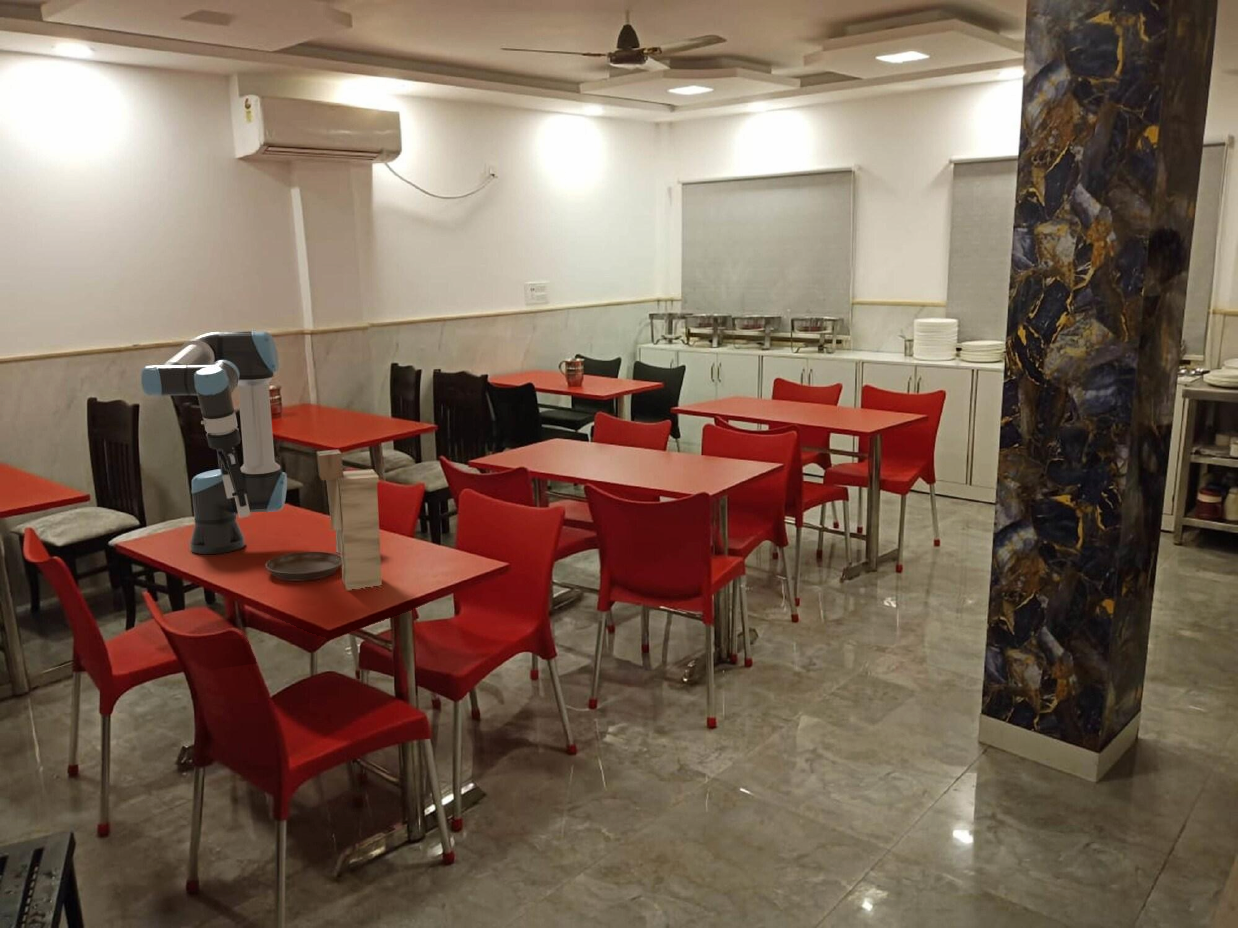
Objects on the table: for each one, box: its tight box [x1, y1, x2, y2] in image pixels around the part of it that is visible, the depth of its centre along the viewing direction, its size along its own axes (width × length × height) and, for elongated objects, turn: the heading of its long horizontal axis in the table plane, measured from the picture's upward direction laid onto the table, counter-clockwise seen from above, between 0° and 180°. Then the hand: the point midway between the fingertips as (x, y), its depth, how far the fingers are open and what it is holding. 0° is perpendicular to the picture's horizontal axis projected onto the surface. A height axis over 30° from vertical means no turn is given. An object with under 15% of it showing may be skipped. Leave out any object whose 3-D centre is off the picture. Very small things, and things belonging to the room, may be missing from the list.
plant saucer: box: [265, 551, 342, 582], centre depth 274 cm, size 21×21×3 cm
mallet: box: [316, 449, 344, 531], centre depth 257 cm, size 6×20×6 cm
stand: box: [337, 468, 383, 591], centre depth 262 cm, size 10×10×30 cm
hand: (238, 506), depth 252 cm, fingers open, 13 cm apart
